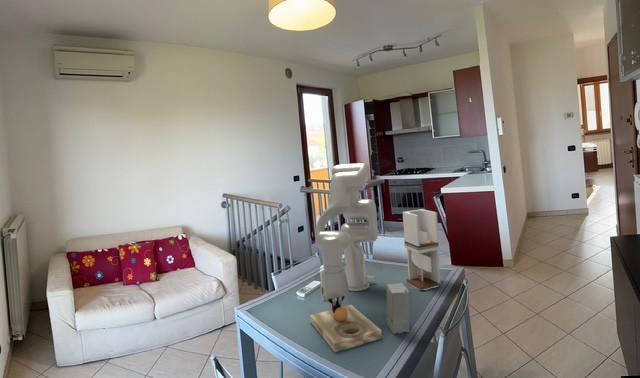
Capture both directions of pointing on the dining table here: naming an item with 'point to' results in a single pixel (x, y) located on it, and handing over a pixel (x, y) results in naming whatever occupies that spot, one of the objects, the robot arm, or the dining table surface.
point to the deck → (345, 329)
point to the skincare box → (397, 308)
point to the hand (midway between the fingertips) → (336, 313)
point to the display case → (422, 248)
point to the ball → (341, 314)
